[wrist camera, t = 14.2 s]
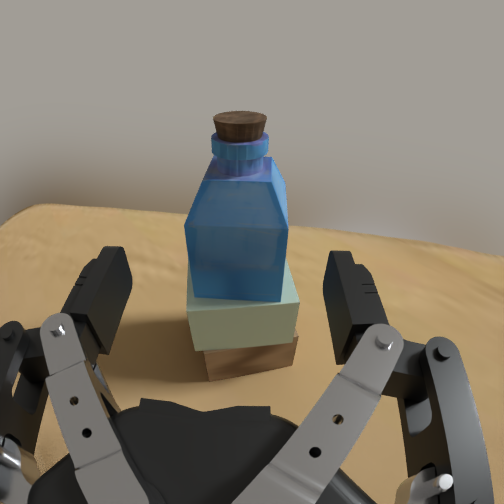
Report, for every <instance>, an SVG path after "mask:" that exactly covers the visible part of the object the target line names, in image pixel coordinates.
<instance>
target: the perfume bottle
mask: <svg viewBox="0 0 504 504" xmlns="http://www.w3.org/2000/svg"><path fill="white" fill-rule="evenodd" d="M266 119H267V117H266V116H265V115H264V114H261V113H257V112H250V111H231V112H224V113H220V114H217V115H215V116H214V117H213V120H214V124H215V128H216V133H214V134H213V135H212V138H211V141H212V153H213V154H214V156H213V158H212V161H211V163H210V165H209V167H208V169H207V171H206V174H205V176H204V178H203V180H202V183H201V186H200V188H199V190H198V193H197V195H196V197H195V200H194V202H193V204H192V207H191V209H190V212H189V214H188V217H187V219H186V222H185V224H184V228H185V236H186V244H187V251H188V258H189V265H190V272H191V279H192V285H193V292H194V297H198V298H213V299H229V300H246V301H266V302H281V296H282V287H283V278H284V268H285V259H286V249H287V239H288V216H287V201H286V187H285V182H284V180H283V178H282V176H281V174H280V172H279V170H278V168H277V166H276V164H275V162H274V160H273V158H272V157H263V156H264V155H266V154H267V152H268V141H269V137H268V134H266V133H265V132H263V131H264V127H265V123H266Z"/></svg>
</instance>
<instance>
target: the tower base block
mask: <svg viewBox="0 0 504 504" xmlns="http://www.w3.org/2000/svg"><path fill="white" fill-rule="evenodd" d="M298 337H299V336H298V334H297V331H296V329H295V331H294V337H293V342H292V343H285V344H276V345H267V346H257V347H246V348H233V349H220V350H205V351H203V352H204V357H205V362H206V367H207V372H208V377H209V382H210V381H216V380H222V379H228V378H234V377H239V376H244V375H249V374H254V373H259V372H264V371H269V370H274V369H278V368H283V367H287V366H291V365H292V364H293V360H294V355H295V351H296V346H297V341H298Z"/></svg>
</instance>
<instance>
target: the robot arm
mask: <svg viewBox="0 0 504 504" xmlns="http://www.w3.org/2000/svg"><path fill="white" fill-rule="evenodd" d="M131 289H132V275H131V271H130V268H129V264H128V261H127V257H126V254H125V251H124V248H123V247H119V246H105V247H103V249H102V250H101V252H100V254H99V256H98V258H97V259H92V260H91V261H90V262H89V263H88V264H87V265H86V266H85V267H84V268H83V270H82V272H81V273H80V275H79V278H78V279H77V281H76V283H75V286H73V288H72V290H71V292H70V294H69V296H68V298H67V300H66V302H65V304H64V306H63V308H62V310H61V312H60V313H57V314H54V315H51V316H50V317H48V318H47V319H46V320H45V321H44V322H43V324H42V326H41V327H39V328H34V329H28V330H25V329H24V328H23V326H22V325H21V324H20V323H19V322H17V321H10V322H8V323H6V324H4V325H3V326H2V327H1V328H0V503H3V504H377V503H376V502H375V501H373V500H372V499H371V498H370V497H369V496H368V495H367V494H366V493H365V492H364V491H363V490H362V489H361V488H360V487H359V486H358V485H357V484H356V483H355V482H353V481H352V480H351V479H350V478H349V477H348V476H347V475H346V474H345V473H344V472H343V471H342V470H341V469H340V468H339V467H340V466H341V464H342V463H343V461H344V460H345V458H346V457H347V455H348V454H349V452H350V450H351V449H352V447H353V446H354V444H355V442H356V441H357V439H358V438H359V436H360V434H361V433H362V431H363V429H364V427H365V426H366V424H367V422H368V420H369V419H370V417H371V415H372V413H373V412H374V410H375V408H376V406H377V404H378V402H379V400H380V398H381V395H386V396H391V397H396V398H397V401H398V407H399V413H400V419H401V425H402V432H403V439H404V447H405V455H406V463H407V472H408V478H407V479H406V480H404V481H403V482H402V483H401V484H400V486H399V487H398V489H397V492H396V499H395V504H494V496H493V488H492V481H491V474H490V468H489V462H488V457H487V452H486V447H485V442H484V437H483V433H482V428H481V424H480V420H479V416H478V412H477V408H476V405H475V401H474V397H473V394H472V391H471V387H470V384H469V381H468V377H467V374H466V371H465V368H464V365H463V362H462V359H461V356H460V353H459V350H458V348H457V347H456V345H455V344H454V343H453V342H452V341H450V340H449V339H447V338H444V337H434V338H432V339H430V340H429V341H428V342H427V344H426V345H424V344H419V343H415V342H410V341H407V340H404V339H403V338H402V336H401V334H400V333H399V332H398V331H397V330H396V329H395V328H393V327H392V326H390V325H389V323H388V320H387V317H386V314H385V311H384V308H383V305H382V302H381V300H380V297H379V294H378V291H377V289H376V286H375V283H374V280H373V278H372V275H371V273H370V272H369V271H368V270H367V269H366V268H365V267H364V266H363V264H355V263H354V260H353V257H352V254H351V252H350V251H330V253H329V257H328V262H327V266H326V271H325V276H324V280H323V296H324V301H325V306H326V311H327V316H328V322H329V327H330V332H331V338H332V343H333V349H334V354H335V360H336V365H342V364H345V365H344V367H343V368H342V370H341V371H340V373H338V374H337V375H336V376H335V377H334V379H333V380H332V382H331V383H330V385H329V386H328V388H327V389H326V390H325V392H324V393H323V395H322V396H321V398H320V399H319V400H318V402H317V403H316V405H315V406H314V407H313V409H312V410H311V411H310V413H309V414H308V415H307V417H306V418H305V419H304V421H303V422H302V423H301V425H300V426H299V427H298V426H297V425H296V424H294V423H292V422H291V421H289V420H287V419H285V418H282V417H279V416H276V415H272V414H270V406H234V407H229V408H224V409H218V410H213V411H207V412H201V411H198V410H194V409H191V408H188V407H185V406H182V405H179V404H177V403H174V402H171V401H161V400H153V399H145V398H141V400H140V405H139V406H136V407H132V408H128V409H126V410H123V411H121V409H120V408H119V406H118V405H117V403H116V401H115V399H114V398H113V395H112V393H111V391H110V389H109V387H108V385H107V382H106V380H105V378H104V376H103V373H102V371H101V369H100V366H99V364H98V362H97V357H98V354H106V355H109V352H110V349H111V346H112V343H113V340H114V337H115V334H116V331H117V329H118V326H119V323H120V320H121V317H122V314H123V311H124V309H125V306H126V303H127V300H128V298H129V295H130V292H131ZM18 371H19V372H20V373H21V375H20V378H19V381H18V384H17V387H16V390H15V393H14V396H13V397H12V387H13V384H14V381H15V379H16V376H17V373H18ZM48 394H49V395H50V399H51V402H52V405H53V408H54V412H55V415H56V418H57V421H58V424H59V426H60V429H61V432H62V435H63V438H64V440H65V443H66V445H67V448H68V451H69V453H68V454H67V455H66V456H65V457H64V458H62V459H61V460H60V461H59V462H57V463H56V464H55V465H54V466H53V467H51V468H50V469H49V470H48V471H47V472H45V473H44V474H43V475H42V476H41V477H40V475H41V473H40V470H39V468H38V466H37V462H36V459H35V458H34V451H35V447H36V442H37V437H38V433H39V429H40V425H41V420H42V416H43V413H44V409H45V405H46V401H47V398H48Z"/></svg>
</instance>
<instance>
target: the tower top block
mask: <svg viewBox="0 0 504 504" xmlns="http://www.w3.org/2000/svg"><path fill="white" fill-rule="evenodd" d="M299 304H300V301H299V298H298V295H297V292H296V288H295V285H294V282H293V279H292V276H291V273H290V269H289V266H288V263H287V260H286V259H285V268H284V278H283V287H282V296H281V302H266V301H246V300H229V299H213V298H198V297H194V292H193V285H192V279H191V272H190V265H189V258H188V277H187V316H188V321H189V326H190V330H191V335H192V340H193V344H194V348H195V351H205V350H220V349H233V348H246V347H257V346H267V345H276V344H285V343H292V342H293V337H294V331H295V326H296V321H297V315H298V309H299Z"/></svg>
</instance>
